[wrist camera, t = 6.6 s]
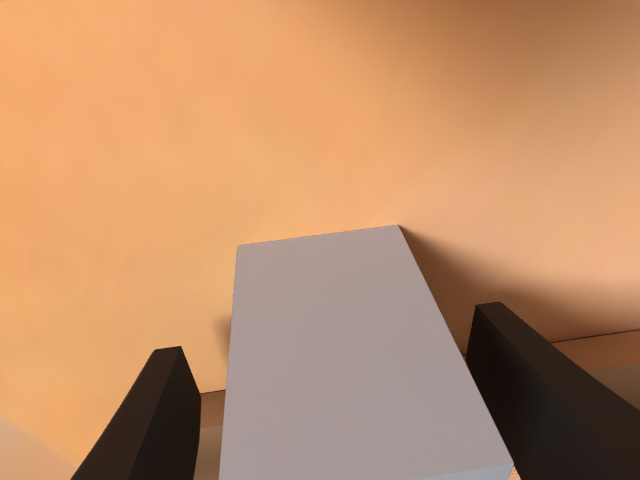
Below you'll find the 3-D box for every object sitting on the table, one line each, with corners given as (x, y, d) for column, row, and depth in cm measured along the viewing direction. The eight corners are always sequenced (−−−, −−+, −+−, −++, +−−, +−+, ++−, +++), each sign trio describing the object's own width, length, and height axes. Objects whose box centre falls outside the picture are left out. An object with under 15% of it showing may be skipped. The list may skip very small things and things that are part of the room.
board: (739, 380, 17) (771, 409, 16) (176, 466, 16) (170, 504, 15) (798, 306, 14) (839, 335, 13) (141, 402, 13) (132, 441, 12)
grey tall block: (389, 447, 17) (443, 655, 12) (288, 462, 16) (300, 681, 12) (397, 223, 11) (514, 463, 6) (237, 244, 10) (216, 510, 6)
